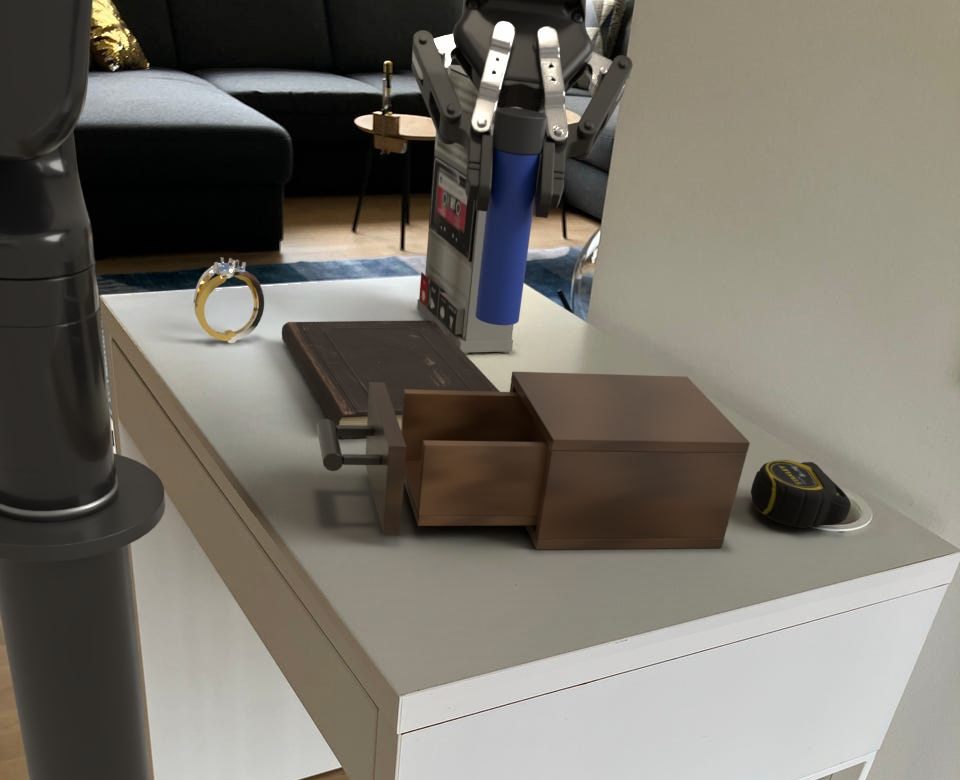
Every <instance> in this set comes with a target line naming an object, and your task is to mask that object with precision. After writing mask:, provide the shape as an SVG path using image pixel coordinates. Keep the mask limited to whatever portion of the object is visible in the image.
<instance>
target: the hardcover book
mask: <svg viewBox="0 0 960 780" xmlns="http://www.w3.org/2000/svg"><path fill="white" fill-rule="evenodd" d="M281 340H282V342H283V344H284V345H285V347H286V349H287V350H288V352H289V353H290V355H291V357H292V358H293V360H294V362H295V364H296V365H297V368H298V369H299V370H300V372H301V374H302V375H303V377H304V379H305V380H306V382H307V384H308V385H309V387H310V389H311V391H312V393H313V394H314V396H315V397H316V399H317V401H318V403H319V405H320V407H321V408H322V410H323V411H324V413H325V414H326V416H327V419H330V420H332V421H333V422H334V423H335V426H336V425H361V426H367V417H368V396H369V382H385V385H386V388H387V391H388V394H389V397H390V400H391V403H392V406H393V409H394V412H395V414H396V417H397V420H398V423H399V426H400V429H401V423H402V408H403V393H404V389H410V390H450V391H489V392H501V391H500V390H499V389H498V388H497V387H496V386H495V385H494V383H493V382H491V380H490V379H489V378H488V377H487V376H486V375H485V374H484V373H483V371H481V370H480V368H479V367H478V366H477V365H476V364H475V363H474V362H473V361H472V360H471V359H470V358H469V357H468V356H467V354H464V353H463V352H462V350H461V349H460V348H459V347H458V346H457V345H456V344H455V343H454V342H453V341H452V340H451V339H450V338H449V337H448V335H447V334H446V333H445V332H444V331H443V330H442V329H441V328H440V327H439V326H438V325H437V324H436V323H435V322H434V321H433V320H427V319H426V320H423V319H419V320H415V319H414V320H343V321H342V320H339V321H338V320H337V321H336V320H335V321H334V320H333V321H332V320H331V321H329V320H327V321H287V322H285V323H284V324H283V325H282V327H281ZM338 437H340V438H341V439H344V440H346V439H347V440H348V439H366V438H367V436H346V435H338Z"/></svg>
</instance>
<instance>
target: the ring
mask: <svg viewBox="0 0 960 780" xmlns="http://www.w3.org/2000/svg"><path fill="white" fill-rule="evenodd" d="M219 260H220V262H218V261H216V262H214V263H213V265H212V266H210V267H209V268H207V270H205V271H204V272H203V273H202V274H201V276H200V278H199V279H198V281H197V284H196V287H195V291H194V295H193V311H194V315H195V318H196V320H197V322H198V324H199V326H200V327H201V328H202V329H203V330H204V332H205V333H207V334H208V335H209V336H210V337H212V338H214V339H216V340H218V341H223V342H227V343H228V344H234V343H236V342H237V341H239V340H242V339H244V338H246V337H247V336H249V335H250V334H251V333H252V332H254V330H255V329H256V328H257V327H258V325H259V323H260V322H261V320H262V318H263V314H264V309H265V297H264V296H265V295H264V291H263V288H262V285H261V284H260V281H259V280H258V278H257V277H256V276H255V275H254V274H252V273H251V272H249V271H248V270H246V265H247V262H246V261H245V262H244V261H242V263H241V266H240V265H239V264H240V260H239V259H233V258H231V257H230V258H228V262H225V257H220V259H219ZM215 274H216V275H217V276H214V275H215ZM213 276H214V277H213ZM233 277H234V278H237V279H238V280H241V281H242V282H243V283H245V284H246V286H247V287H248V289H249V290H250V292H251V294H252V299H253V310H252V314H251V316H250V318H249V320H248V322H247V323H246V324H245V325H244V326H243V327H241V328H239V329H238V330H234V331H233V330H232V329H226V330H225V331H224V332H221V331H217V330H216V329H213V328H212V327H211V326H210V325H209V323H208V321H207V318H206V316H205V306H206V302H207V301H208V298H209V297H210V295H211V294H212V293H213V292H214V291H215V290H216V288H218V287H219V286H220V285H222V284H224V283H225V282H226V281H227V279H230V278H233Z"/></svg>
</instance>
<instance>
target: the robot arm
mask: <svg viewBox="0 0 960 780" xmlns="http://www.w3.org/2000/svg"><path fill="white" fill-rule="evenodd" d="M93 3H94V0H0V515H3V516H5V517H8V518H12V519H16V520H22V521H29V522H59V521H67V520H73V519H78V518H82V517H86V516H89V515H92V514H94V513H97V512H99V511H101V510H103V509H105V508H106V507H108V506H109V505H110V504H111V503H112V502H113V501H114V500H115V499H116V497H117V495H118V490H119V489H118V479H117V476H116V466H115V462H114V453H115V452H114V447H115V435H114V434H115V433H114V430H113V429H112V421H111V411H110V410H111V409H110V400H109V390H108V389H109V388H108V380H107V379H108V378H107V370H106V369H107V368H106V359H105V347H104V340H103V339H104V338H103V327H102V326H103V325H102V317H101V315H102V314H101V307H100V297H99V286H98V275H97V265H96V264H97V263H96V256H95V246H94V245H95V244H94V234H93V233H94V232H93V227H92V221H91V218H90V215H89V212H88V208H87V205H86V200H85V197H84V193H83V188H82V184H81V179H80V174H79V168H78V160H77V159H78V158H77V152H76V151H77V150H76V143H75V141H76V140H75V134H74V133H75V132H74V130H75V128H76V127H77V125H78V124H79V121H80V118H81V116H82V114H83V112H84V108H85V105H86V99H87V94H88V87H89V85H88V84H89V70H90V69H89V68H90V52H91V51H90V49H91V48H90V47H91V34H92V32H91V31H92V17H93ZM586 13H587V0H462V11H461V15H460V17H459V19H458V20H457V22H456V23H455V25H454V26H453V30H452V33H450V34H446V35H443V36H439V37H435V38H434V36H433V35H432V33H431V32H429V31H428V30H421V29H420V30H418V31H416V32H415V33H414V35H412V36H413V37H412V50H411V51H412V52H411V53H412V54H411V70H412V75H413V76H414V79H415V81H416V84H417V86H418V89H419V92H420V93H421V97H422V99H423V102H424V104H425V107H426V109H427V111H428V113H429V117H430V118H431V121H432V124H433V127H434V129H435V132H436V131H437V134H438V136H439V138H440V140H441V141H442V142H443V143H445V144H449V145H450V144H454V143H457V144H459V145H461V146H463V147H464V148H465V150H466V152H467V172H466V188H465V193H466V195H467V198H468V200H474V201H476V210H477V211H486V212H487V211H488V205H489V200H490V193H491V181H492V163H493V146H494V136H492V135H491V134H492V131H493V128H494V120H495V111H496V109H498V108H512V107H519V108H522V109H526V110H532V111H537V112H540V113H543V114H545V115H546V116H547V121H546V129H545V136H544V143H543V150H542V153H541V154H540V161H539V169H538V177H537V184H536V192H535V209H534V210H535V212H534V213H535V214H534V216H535V217H534V218H543V219H548V216H549V213H550V210H557V209H558V206H559V205H560V202H561V199H562V196H563V193H564V190H565V171H566V168H565V167H566V160H567V159H569V158H575V159H576V160H578V161H585V160H588V158H589V157H590V155H591V154H592V152H593V150H594V148H595V147H596V144H597V143H598V141H599V139H600V137H601V135H602V134H603V132H604V131H605V128H606V127H607V125H608V123H609V121H610V120H611V117H612V116H613V114H614V112H615V111H616V108H617V106H618V105H619V103H620V101H621V99H622V98H623V96H624V93H625V90H626V87H627V84H628V81H629V79H630V75H631V72H632V69H633V62H632V61H633V60H631V58H630V57H629V56H627V55H624V54H618V55H616V56H615V57H614V58H613V60H612V59H609V58H607V57H605V56H603V55H601V54H599V53H598V52H596V51H594V45H593V41H592V39H591V37H590V35H589V32H588V31H587V27H586V16H587V15H586ZM454 59H455V60H456V62H457V64H458V65H460V66H461V67H462V69H463V70H464V72H465V73H466V74H467V76H468V77H469V79H470V80H471V82H472V83H473V85H474V86H475V88H476V89H477V91H478V92H479V93H478V97H477V101H476V105H475V108H474V112H473V114H471V113H468V112H466V111H464V110H462V107H461V104H460V102H459V100H458V97H457V95H456V92H455V90H454V87H453V85H452V82H451V80H450V77H449V74H450V69H451V65H452V61H453V60H454ZM584 74H585V75H586V76H587V77H588V79H589V83H588V89H587V90H588V92H589V95H591V99H590V101H589V103H588V104H587V107H586V108H585V110H584V112H583V114H582V115H581V116H580V118H579V120H578V122H573V123H568V119H567V113H566V94H567V92H568V91H569V90H571V88H572V87H573V86H574V85H575V84H576V83H577V82H578V81H579V80H580V79H581V78H582V77H583V76H584Z"/></svg>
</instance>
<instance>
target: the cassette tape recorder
mask: <svg viewBox="0 0 960 780" xmlns="http://www.w3.org/2000/svg"><path fill="white" fill-rule="evenodd" d="M449 77H450V80H451V82H452V85H453V87H454V90H455V92H456V95H457V97H458V100H459V102H460V104H461V107H462V110H464V111H466V112H468V113H471V114H473V112H474V108H475V105H476V101H477V97H478V93H479V92H478V91H477V89H476V88H475V86H474V85H473V83H472V82H471V80H470V79H469V77H468V76H467V74H466V73H465V72H464V70H463V69H462V67H461V66H460V64H451V69H450V74H449ZM512 108H519V107H512ZM519 109H522V108H519ZM493 129H494V128H493ZM491 135H492V136H493V131H492V134H491ZM434 138H435V139H434V155H433V165H432V175H431V177H432V178H431V189H430V190H431V193H430V204H429V205H430V206H429V217H428V233H427V246H426V257H425V259H426V260H425V273H423V271H420V284H419V299H417V305H416V306H417V307H416V310H417V311H418V312H419V313H420V314H421V315H422V316H423V317H424V318H425V319H426V320H433V321H434V322H435V323H436V324H437V325H438V326H439V327H440V328H441V329H442V330H443V331H444V332H445V333H446V334H447V335H448V337H449V338H450V339H451V340H452V341H453V342H454V343H455V344H456V345H457V346H458V347H459V348H460V349H461V350H462V352H463V353H464V354H465V355H468V354H469V353H490V352H500V353H503V354H507V353H510V352H512V351H513V345H514V340H513V332H514V331H513V330H514V325H515V324H512V325H494V324H489V323H486V322H483V321H481V320H479V319H477V318H476V315H475V314H476V305H477V296H478V286H479V277H480V268H481V258H482V249H483V239H484V230H485V221H486V211H477V210H476V201H474V200H468V198H467V195H466V193H465V188H466V172H467V152H466V150H465V148H464V147H463V146H461V145H459V144H457V143H454V144H450V145H449V144H445V143H443V142H442V141H441V140H440V138H439V136H438V134H437V131H436V130H435V137H434Z"/></svg>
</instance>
